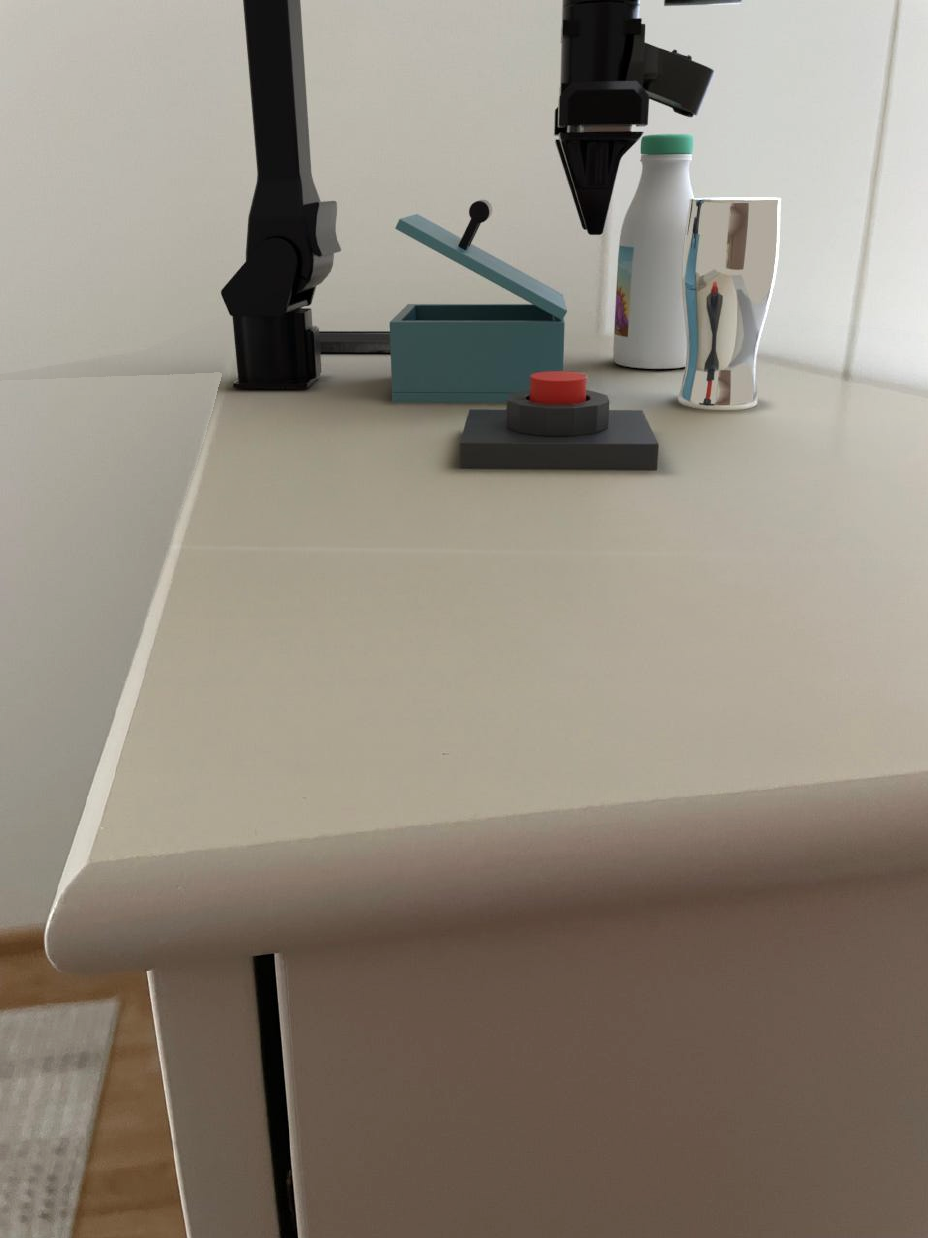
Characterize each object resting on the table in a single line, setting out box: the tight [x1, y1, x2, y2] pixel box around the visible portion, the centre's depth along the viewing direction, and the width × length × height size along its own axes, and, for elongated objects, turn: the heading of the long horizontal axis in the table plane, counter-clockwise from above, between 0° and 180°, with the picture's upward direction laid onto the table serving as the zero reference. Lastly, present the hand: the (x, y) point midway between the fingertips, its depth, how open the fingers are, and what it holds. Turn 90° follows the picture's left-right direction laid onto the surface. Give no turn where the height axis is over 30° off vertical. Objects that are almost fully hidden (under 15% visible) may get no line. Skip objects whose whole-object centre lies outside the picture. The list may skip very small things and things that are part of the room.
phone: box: [319, 330, 391, 353], centre depth 110 cm, size 8×1×15 cm
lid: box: [395, 199, 568, 320], centre depth 84 cm, size 14×13×5 cm
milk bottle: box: [613, 133, 695, 370], centre depth 96 cm, size 8×8×20 cm
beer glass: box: [677, 197, 782, 411], centre depth 79 cm, size 7×7×15 cm
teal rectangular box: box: [389, 303, 566, 403], centre depth 87 cm, size 14×13×6 cm
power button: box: [530, 370, 588, 404], centre depth 66 cm, size 4×4×2 cm
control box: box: [459, 389, 660, 471], centre depth 67 cm, size 12×10×4 cm
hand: (592, 231), depth 83 cm, fingers open, 9 cm apart
